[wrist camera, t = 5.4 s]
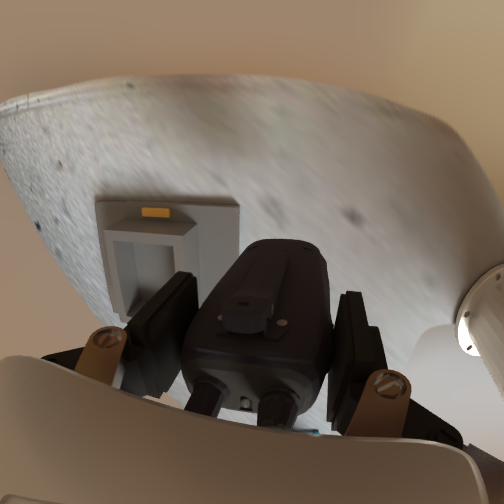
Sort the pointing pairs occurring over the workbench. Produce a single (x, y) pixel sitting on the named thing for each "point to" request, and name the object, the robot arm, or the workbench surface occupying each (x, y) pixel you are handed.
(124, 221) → the charging cradle
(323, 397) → the workbench surface
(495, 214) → the workbench surface
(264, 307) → the two-way radio
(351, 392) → the robot arm
